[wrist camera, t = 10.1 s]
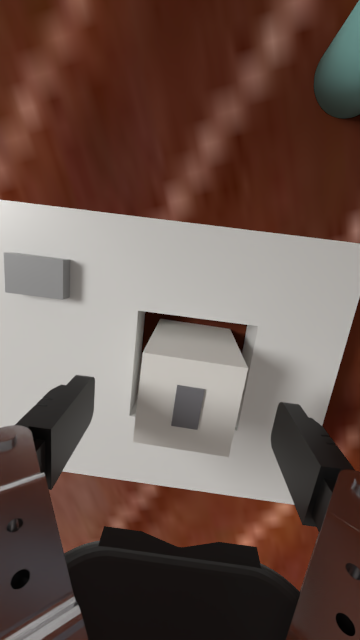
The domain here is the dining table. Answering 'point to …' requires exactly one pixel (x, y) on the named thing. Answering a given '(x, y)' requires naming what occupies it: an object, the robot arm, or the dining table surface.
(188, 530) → the dining table surface
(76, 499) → the dining table surface
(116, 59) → the dining table surface
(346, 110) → the teal rounded cylinder
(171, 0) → the dining table surface
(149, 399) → the block
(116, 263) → the board
